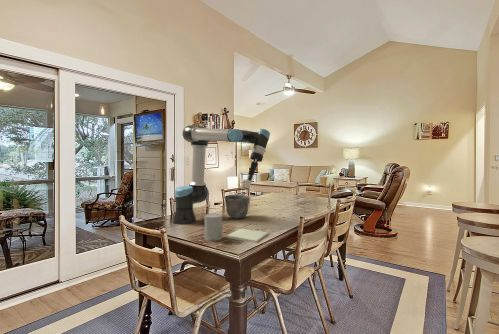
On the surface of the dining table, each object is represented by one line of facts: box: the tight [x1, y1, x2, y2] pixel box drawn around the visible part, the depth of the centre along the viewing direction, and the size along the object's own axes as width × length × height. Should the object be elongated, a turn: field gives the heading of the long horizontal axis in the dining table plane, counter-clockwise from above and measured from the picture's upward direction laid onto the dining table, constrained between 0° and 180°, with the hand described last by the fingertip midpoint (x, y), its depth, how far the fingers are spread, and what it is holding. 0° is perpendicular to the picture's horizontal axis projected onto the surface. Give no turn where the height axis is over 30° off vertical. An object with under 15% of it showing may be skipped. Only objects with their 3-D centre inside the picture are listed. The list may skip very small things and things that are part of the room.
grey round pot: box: [224, 194, 250, 219], centre depth 196 cm, size 18×18×15 cm
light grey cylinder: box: [204, 213, 223, 242], centre depth 149 cm, size 10×10×12 cm
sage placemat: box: [225, 228, 269, 243], centre depth 152 cm, size 18×16×1 cm
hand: (247, 187), depth 165 cm, fingers open, 13 cm apart
